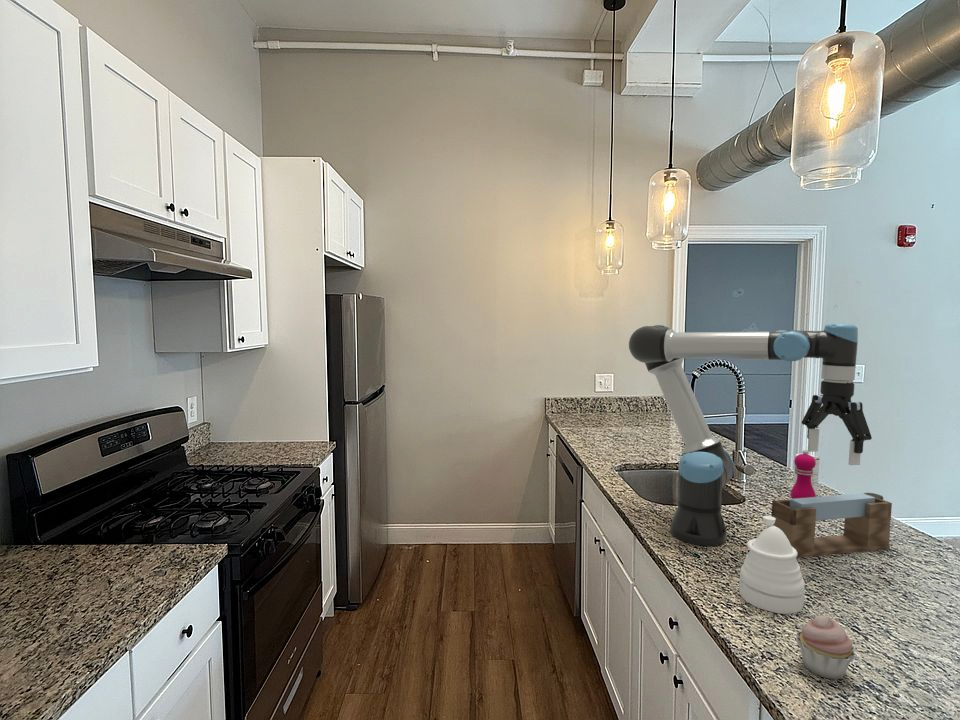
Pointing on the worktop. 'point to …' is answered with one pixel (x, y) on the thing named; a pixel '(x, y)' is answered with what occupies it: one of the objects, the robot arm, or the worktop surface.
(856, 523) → the bracket
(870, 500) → the rail
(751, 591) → the honey pot
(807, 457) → the pepper mill
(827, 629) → the cupcake
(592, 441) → the worktop surface
